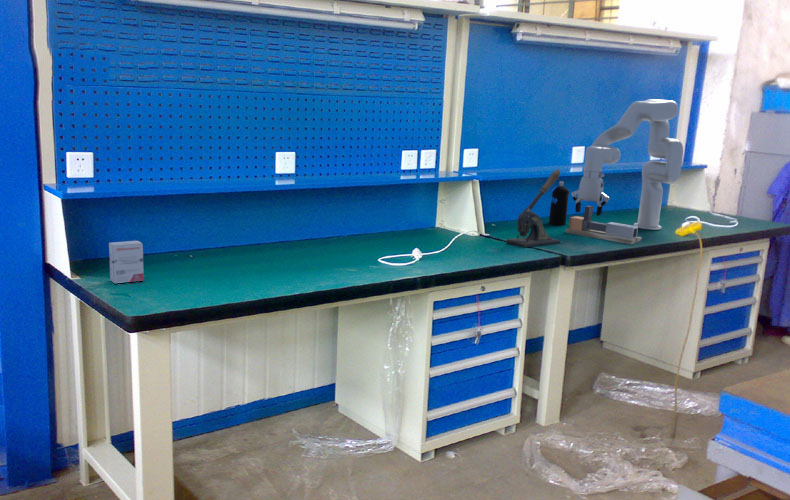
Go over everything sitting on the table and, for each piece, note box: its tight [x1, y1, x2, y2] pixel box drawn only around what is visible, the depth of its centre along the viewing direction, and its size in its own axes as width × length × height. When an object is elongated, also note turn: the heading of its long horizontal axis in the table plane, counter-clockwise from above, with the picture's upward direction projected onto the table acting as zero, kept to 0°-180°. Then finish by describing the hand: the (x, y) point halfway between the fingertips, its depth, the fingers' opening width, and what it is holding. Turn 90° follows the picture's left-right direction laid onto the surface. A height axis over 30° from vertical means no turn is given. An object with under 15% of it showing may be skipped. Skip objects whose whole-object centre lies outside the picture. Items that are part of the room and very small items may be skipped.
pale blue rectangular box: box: [605, 221, 639, 239], centre depth 313 cm, size 5×12×5 cm, turn 51°
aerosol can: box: [547, 181, 570, 227], centre depth 340 cm, size 8×8×20 cm
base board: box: [565, 227, 643, 245], centre depth 319 cm, size 12×30×2 cm, turn 51°
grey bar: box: [582, 205, 607, 232], centre depth 319 cm, size 4×16×10 cm, turn 51°
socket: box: [568, 215, 584, 231], centre depth 325 cm, size 6×6×5 cm
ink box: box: [108, 240, 145, 284], centre depth 212 cm, size 9×5×12 cm, turn 124°
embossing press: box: [505, 169, 561, 248], centre depth 294 cm, size 11×24×30 cm, turn 126°
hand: (588, 213), depth 322 cm, fingers open, 9 cm apart
